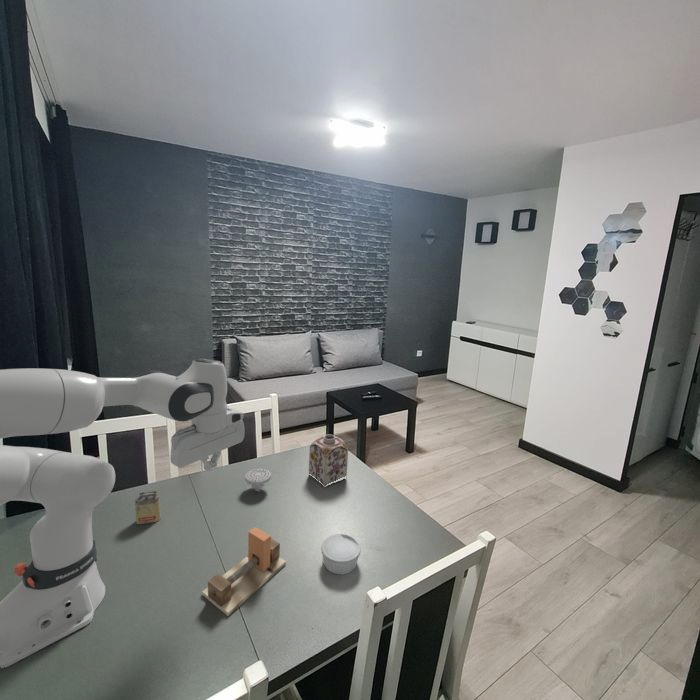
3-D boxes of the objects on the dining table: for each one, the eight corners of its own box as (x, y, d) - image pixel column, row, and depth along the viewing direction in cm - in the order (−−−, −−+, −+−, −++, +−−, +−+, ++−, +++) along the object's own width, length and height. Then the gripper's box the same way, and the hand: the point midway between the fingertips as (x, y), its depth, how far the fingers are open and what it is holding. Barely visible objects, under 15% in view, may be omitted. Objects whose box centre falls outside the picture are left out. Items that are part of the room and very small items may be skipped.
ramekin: (366, 558, 107) (367, 543, 106) (346, 584, 97) (347, 568, 96) (334, 543, 112) (335, 528, 111) (313, 566, 103) (313, 550, 102)
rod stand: (227, 616, 86) (227, 596, 85) (202, 594, 92) (201, 576, 91) (285, 564, 103) (286, 547, 102) (261, 548, 108) (261, 532, 107)
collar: (263, 571, 98) (263, 541, 96) (248, 561, 101) (248, 531, 99) (270, 566, 100) (270, 535, 98) (255, 556, 103) (255, 526, 101)
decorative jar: (330, 467, 157) (332, 428, 153) (347, 479, 148) (350, 438, 145) (307, 475, 149) (309, 434, 146) (323, 488, 141) (325, 446, 137)
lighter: (134, 525, 114) (133, 497, 112) (137, 517, 118) (135, 490, 116) (160, 521, 117) (158, 494, 115) (161, 514, 120) (160, 487, 118)
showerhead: (241, 479, 130) (248, 465, 140) (241, 497, 132) (248, 482, 141) (268, 480, 131) (272, 466, 140) (267, 498, 132) (272, 483, 142)
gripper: (179, 436, 83) (181, 490, 86) (248, 411, 100) (247, 457, 103) (163, 428, 86) (166, 481, 89) (233, 406, 103) (233, 450, 106)
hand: (210, 468), depth 96 cm, fingers closed
